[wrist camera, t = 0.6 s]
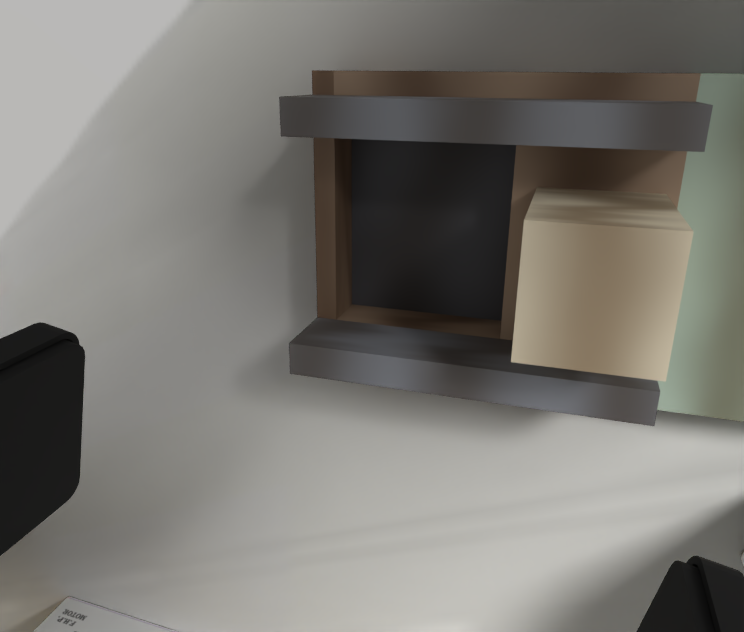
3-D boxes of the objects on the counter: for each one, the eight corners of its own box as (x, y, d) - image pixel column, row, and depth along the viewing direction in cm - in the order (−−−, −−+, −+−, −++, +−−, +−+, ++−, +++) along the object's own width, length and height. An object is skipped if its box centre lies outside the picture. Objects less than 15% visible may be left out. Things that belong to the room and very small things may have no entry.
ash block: (666, 194, 26) (693, 231, 19) (646, 311, 27) (665, 381, 21) (537, 187, 27) (523, 220, 21) (526, 300, 29) (510, 362, 22)
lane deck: (902, 75, 25) (1002, 74, 19) (812, 401, 30) (869, 481, 24) (335, 71, 31) (278, 69, 25) (338, 341, 36) (291, 393, 30)
